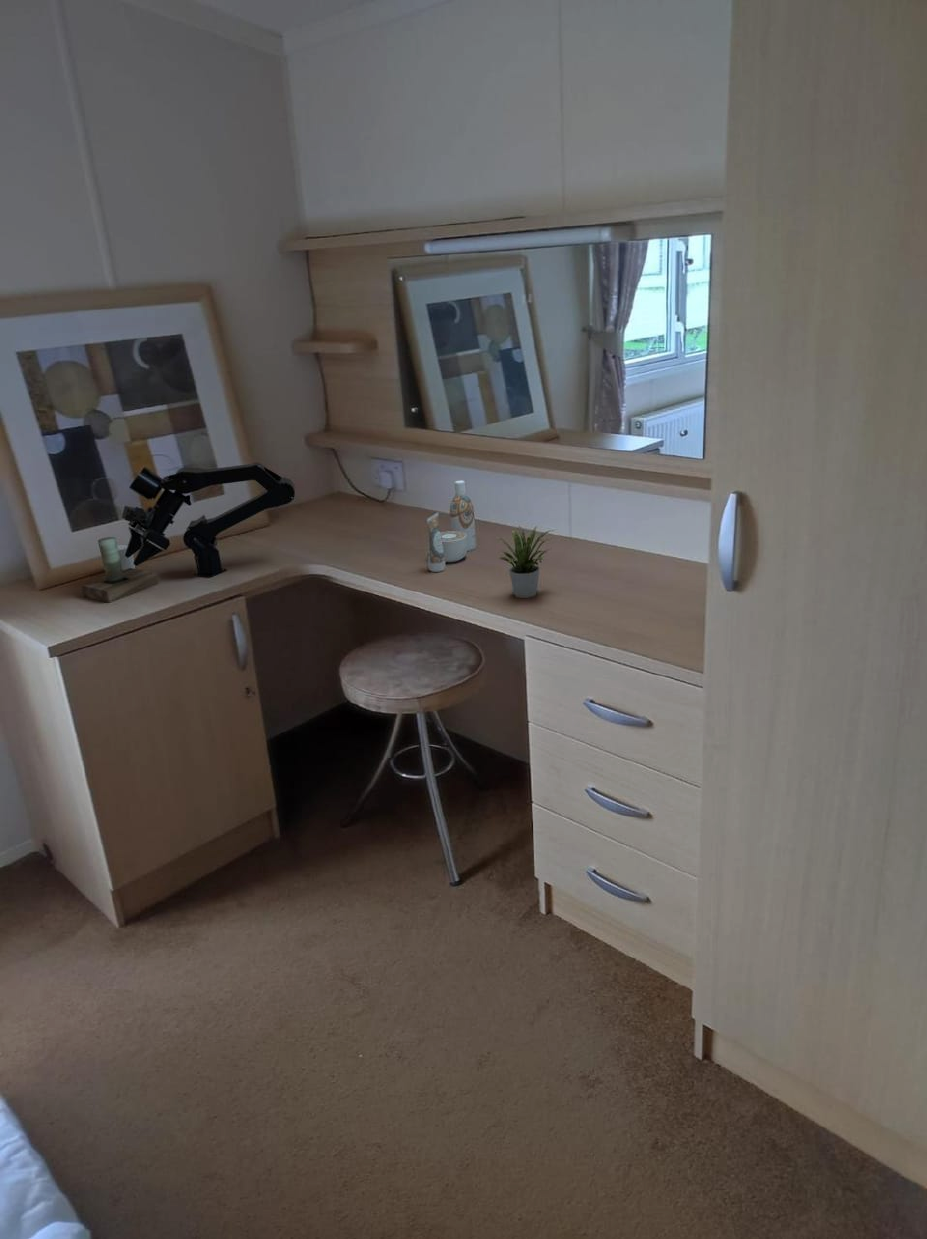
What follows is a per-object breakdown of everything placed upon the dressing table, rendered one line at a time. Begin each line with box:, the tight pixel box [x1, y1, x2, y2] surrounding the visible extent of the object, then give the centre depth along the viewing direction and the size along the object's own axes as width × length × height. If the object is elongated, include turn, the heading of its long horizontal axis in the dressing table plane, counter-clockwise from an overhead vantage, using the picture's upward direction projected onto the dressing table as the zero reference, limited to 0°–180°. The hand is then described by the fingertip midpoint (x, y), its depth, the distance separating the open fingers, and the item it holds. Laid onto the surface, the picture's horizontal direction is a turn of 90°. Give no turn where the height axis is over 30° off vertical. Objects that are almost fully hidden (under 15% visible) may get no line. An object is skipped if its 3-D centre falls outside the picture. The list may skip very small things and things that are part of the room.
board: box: [80, 568, 159, 603], centre depth 230 cm, size 11×15×3 cm
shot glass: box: [117, 543, 136, 570], centre depth 244 cm, size 7×7×7 cm
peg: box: [97, 536, 125, 585], centre depth 227 cm, size 4×4×14 cm
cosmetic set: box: [426, 480, 477, 573], centre depth 232 cm, size 25×9×19 cm, turn 157°
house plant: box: [493, 525, 555, 599], centre depth 204 cm, size 14×14×16 cm
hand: (130, 560), depth 229 cm, fingers open, 9 cm apart
